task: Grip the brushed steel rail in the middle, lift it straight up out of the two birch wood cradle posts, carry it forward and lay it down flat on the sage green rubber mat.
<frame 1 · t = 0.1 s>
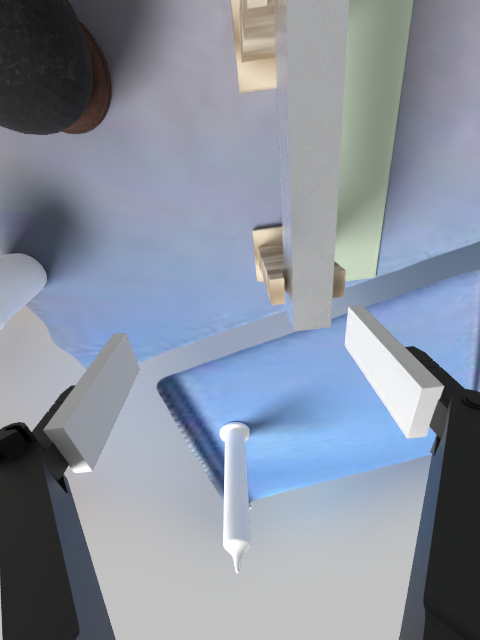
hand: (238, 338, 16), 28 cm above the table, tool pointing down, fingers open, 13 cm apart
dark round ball: (62, 76, 31), on the table
mat: (361, 153, 35), on the table
foam cup: (26, 272, 42), on the table
cradle posts: (279, 164, 36), on the table
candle: (234, 431, 62), on the table
rail: (300, 160, 25), point 12 cm above the table, touching cradle posts
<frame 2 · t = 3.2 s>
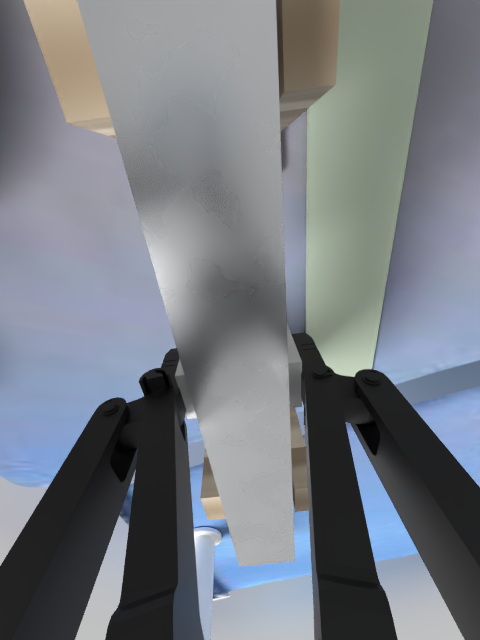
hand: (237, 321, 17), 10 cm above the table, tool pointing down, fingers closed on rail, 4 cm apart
mat: (346, 260, 26), on the table
cradle posts: (235, 274, 26), on the table
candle: (203, 534, 52), on the table
rail: (238, 341, 15), point 12 cm above the table, touching cradle posts, gripper
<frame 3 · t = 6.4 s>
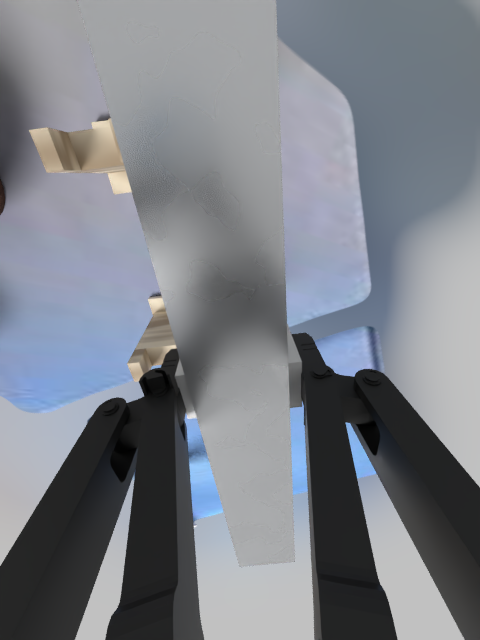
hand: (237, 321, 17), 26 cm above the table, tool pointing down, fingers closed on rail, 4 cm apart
cradle posts: (163, 246, 41), on the table
rail: (238, 342, 15), point 29 cm above the table, touching gripper
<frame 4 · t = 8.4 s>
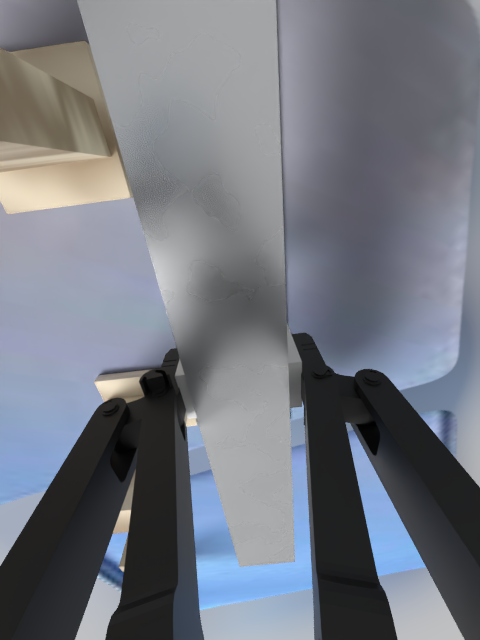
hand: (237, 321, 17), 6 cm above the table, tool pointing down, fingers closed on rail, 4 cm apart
cradle posts: (113, 301, 23), on the table
rail: (238, 342, 15), point 9 cm above the table, touching gripper
when the fingers open (1 cm above the table, at t = 9.7 s): rail drops 3 cm, resting on mat.
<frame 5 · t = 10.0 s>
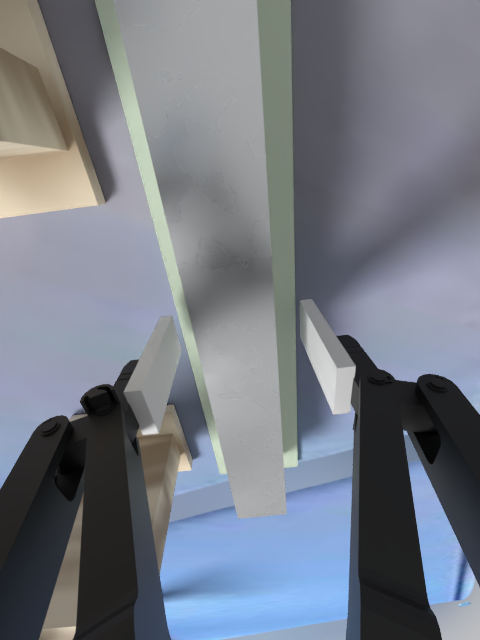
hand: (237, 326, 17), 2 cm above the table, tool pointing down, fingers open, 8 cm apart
mat: (237, 314, 18), on the table
cradle posts: (85, 332, 19), on the table
rail: (237, 317, 18), resting on mat
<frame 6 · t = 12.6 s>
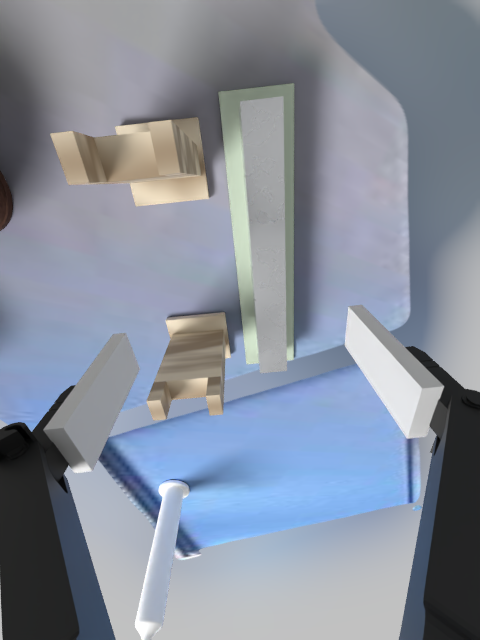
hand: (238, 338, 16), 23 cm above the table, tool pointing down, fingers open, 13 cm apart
mat: (264, 256, 36), on the table
cradle posts: (186, 264, 37), on the table
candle: (174, 487, 62), on the table
rail: (264, 257, 36), resting on mat
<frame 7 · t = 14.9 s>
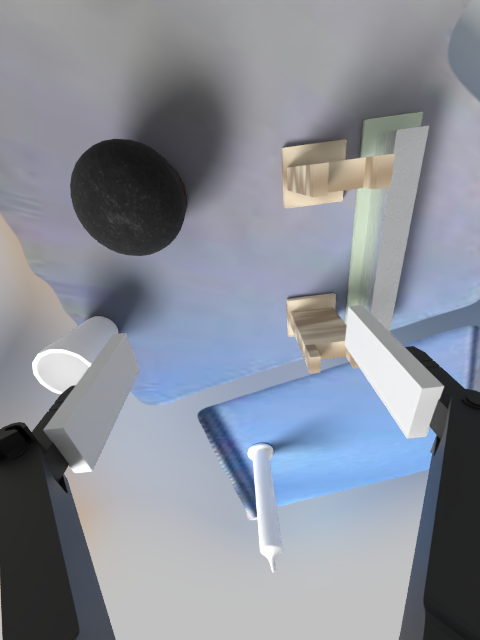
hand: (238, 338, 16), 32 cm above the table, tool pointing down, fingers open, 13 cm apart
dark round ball: (150, 197, 40), on the table
mat: (374, 246, 45), on the table
foam cup: (102, 329, 52), on the table
cradle posts: (311, 253, 45), on the table
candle: (260, 450, 72), on the table
rail: (375, 246, 45), resting on mat
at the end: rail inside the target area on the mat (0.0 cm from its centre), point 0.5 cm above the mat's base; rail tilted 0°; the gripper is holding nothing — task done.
